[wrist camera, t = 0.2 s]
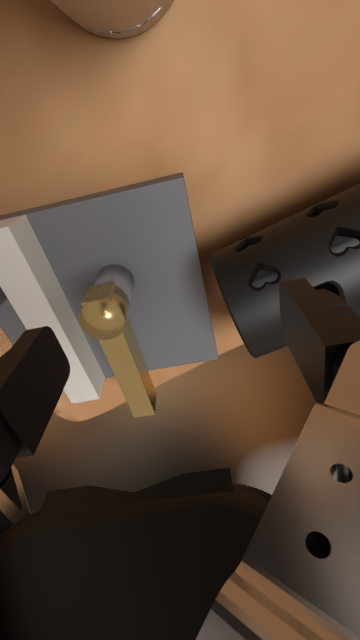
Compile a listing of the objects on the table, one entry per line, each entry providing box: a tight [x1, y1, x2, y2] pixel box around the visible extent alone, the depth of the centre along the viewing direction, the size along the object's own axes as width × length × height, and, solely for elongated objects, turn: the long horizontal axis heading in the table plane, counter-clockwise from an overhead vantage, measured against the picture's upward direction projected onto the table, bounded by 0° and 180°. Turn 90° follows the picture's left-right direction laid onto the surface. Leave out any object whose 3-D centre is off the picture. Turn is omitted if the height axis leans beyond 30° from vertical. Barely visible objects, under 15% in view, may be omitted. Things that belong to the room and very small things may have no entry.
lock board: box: [0, 173, 218, 403], centre depth 27 cm, size 18×20×8 cm
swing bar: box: [79, 282, 157, 418], centre depth 26 cm, size 13×3×3 cm, turn 12°
